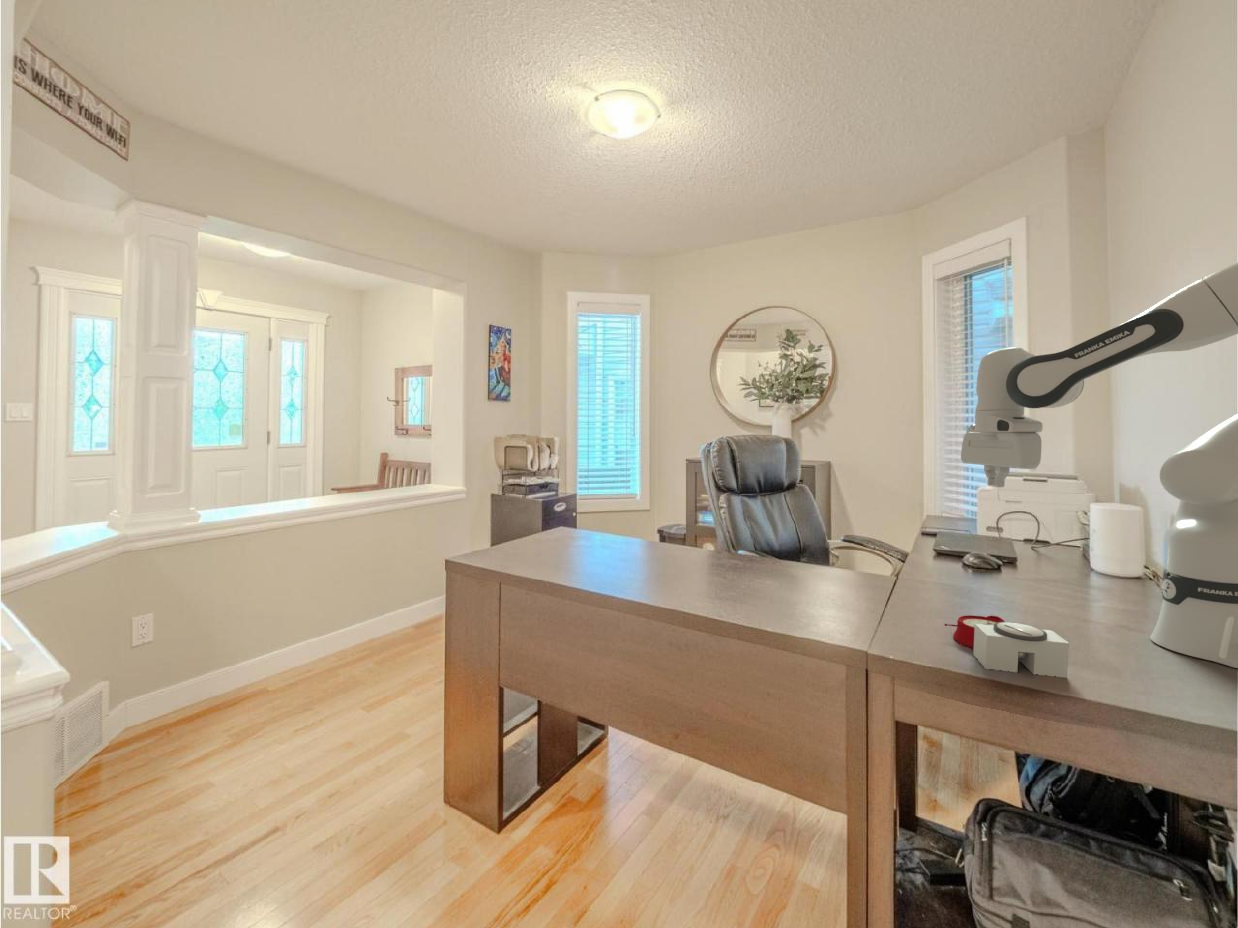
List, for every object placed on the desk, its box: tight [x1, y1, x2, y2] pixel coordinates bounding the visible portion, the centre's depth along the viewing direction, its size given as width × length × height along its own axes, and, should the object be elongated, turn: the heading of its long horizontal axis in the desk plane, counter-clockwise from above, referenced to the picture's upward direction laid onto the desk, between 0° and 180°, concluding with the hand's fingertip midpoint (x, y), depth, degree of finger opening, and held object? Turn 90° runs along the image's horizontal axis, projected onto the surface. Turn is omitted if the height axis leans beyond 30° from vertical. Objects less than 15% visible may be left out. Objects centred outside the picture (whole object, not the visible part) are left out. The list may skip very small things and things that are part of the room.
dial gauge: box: [972, 621, 1070, 679], centre depth 96 cm, size 12×8×7 cm, turn 74°
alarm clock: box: [944, 614, 1006, 649], centre depth 107 cm, size 10×6×15 cm
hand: (995, 486), depth 120 cm, fingers closed
